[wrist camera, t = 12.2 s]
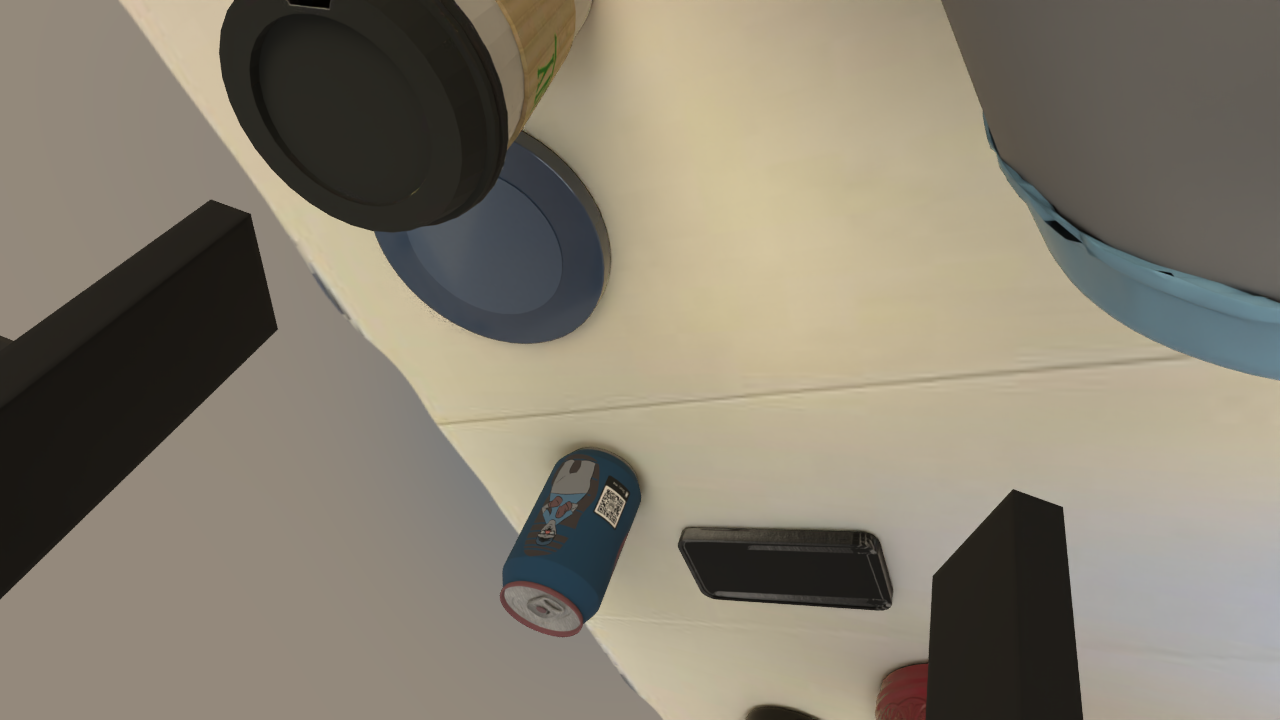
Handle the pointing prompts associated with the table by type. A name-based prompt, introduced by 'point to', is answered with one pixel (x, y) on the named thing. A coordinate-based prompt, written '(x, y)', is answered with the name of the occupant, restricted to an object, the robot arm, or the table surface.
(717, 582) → the phone
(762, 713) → the ink bottle
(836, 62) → the table surface
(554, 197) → the plate
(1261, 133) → the robot arm
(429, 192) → the coffee cup
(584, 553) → the soda can
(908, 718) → the kitchen canister
